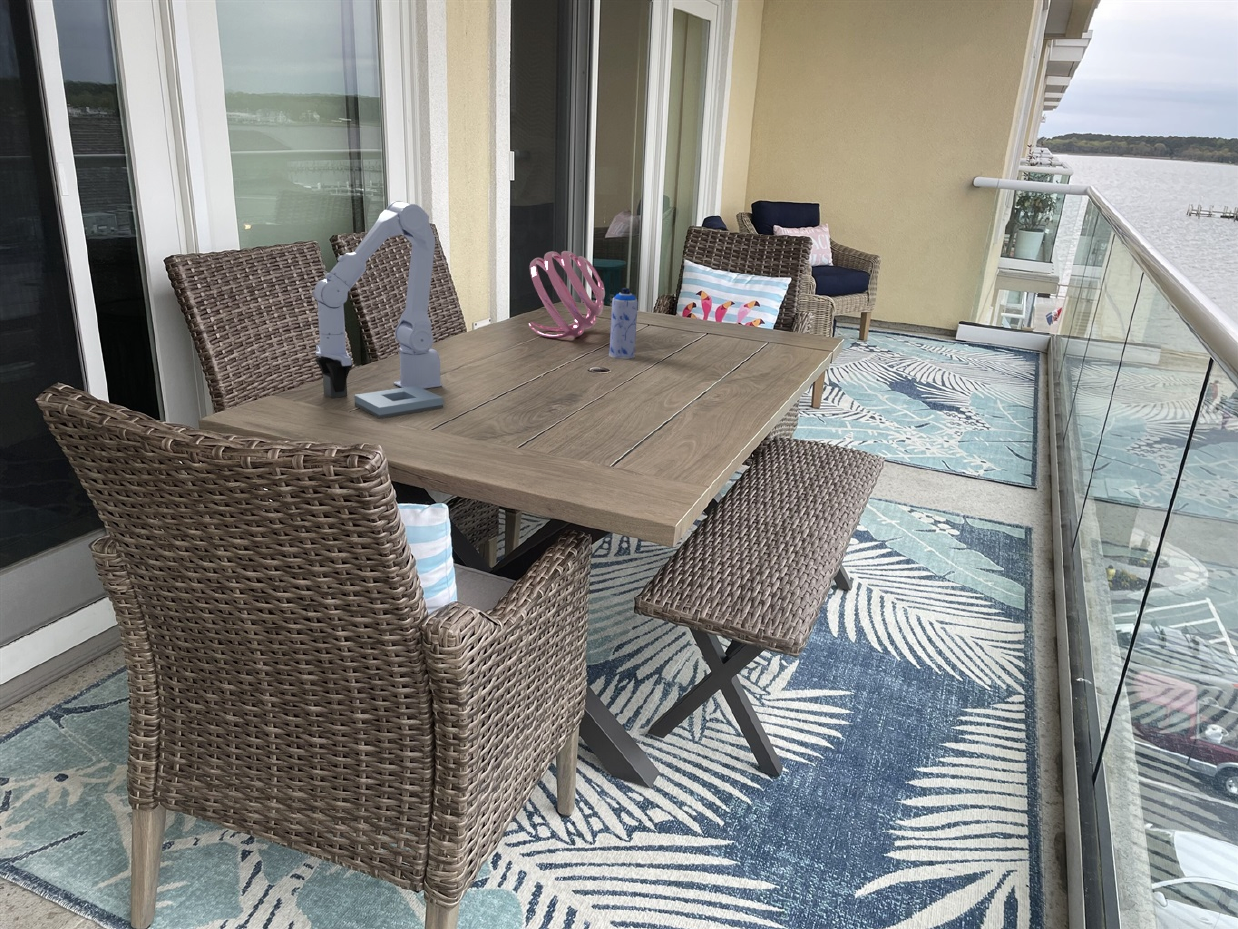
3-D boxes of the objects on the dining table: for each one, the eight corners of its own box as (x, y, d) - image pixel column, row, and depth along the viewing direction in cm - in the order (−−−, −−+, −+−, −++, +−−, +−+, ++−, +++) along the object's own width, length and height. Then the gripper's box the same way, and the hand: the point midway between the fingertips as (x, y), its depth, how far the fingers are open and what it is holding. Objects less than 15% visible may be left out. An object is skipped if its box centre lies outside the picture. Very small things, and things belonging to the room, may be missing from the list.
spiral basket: (488, 273, 277) (562, 227, 270) (522, 283, 304) (590, 242, 296) (528, 353, 275) (604, 309, 268) (559, 356, 302) (628, 317, 295)
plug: (339, 391, 215) (338, 371, 213) (347, 395, 212) (346, 375, 211) (323, 394, 213) (322, 373, 211) (331, 398, 210) (330, 377, 208)
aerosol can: (639, 358, 266) (643, 290, 259) (614, 359, 263) (618, 290, 256) (629, 352, 272) (633, 286, 266) (604, 353, 270) (608, 286, 263)
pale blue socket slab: (417, 395, 216) (416, 385, 215) (443, 407, 207) (443, 397, 207) (354, 405, 206) (354, 394, 205) (379, 418, 197) (379, 407, 196)
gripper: (302, 328, 210) (306, 384, 215) (329, 340, 200) (332, 398, 204) (331, 325, 214) (334, 380, 219) (358, 337, 204) (361, 394, 209)
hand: (335, 389), depth 212 cm, fingers closed on plug, 4 cm apart
